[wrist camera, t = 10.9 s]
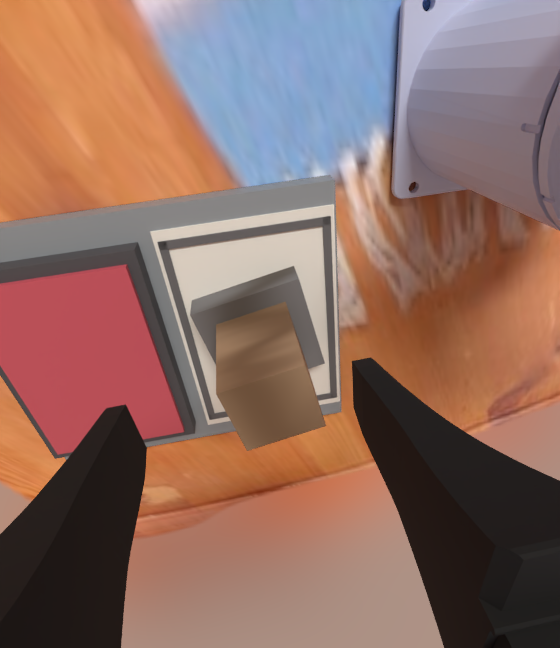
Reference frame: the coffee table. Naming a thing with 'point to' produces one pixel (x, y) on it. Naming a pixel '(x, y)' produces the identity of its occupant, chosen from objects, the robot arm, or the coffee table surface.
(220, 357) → the stamp
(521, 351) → the coffee table surface
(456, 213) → the coffee table surface
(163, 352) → the stamp board
